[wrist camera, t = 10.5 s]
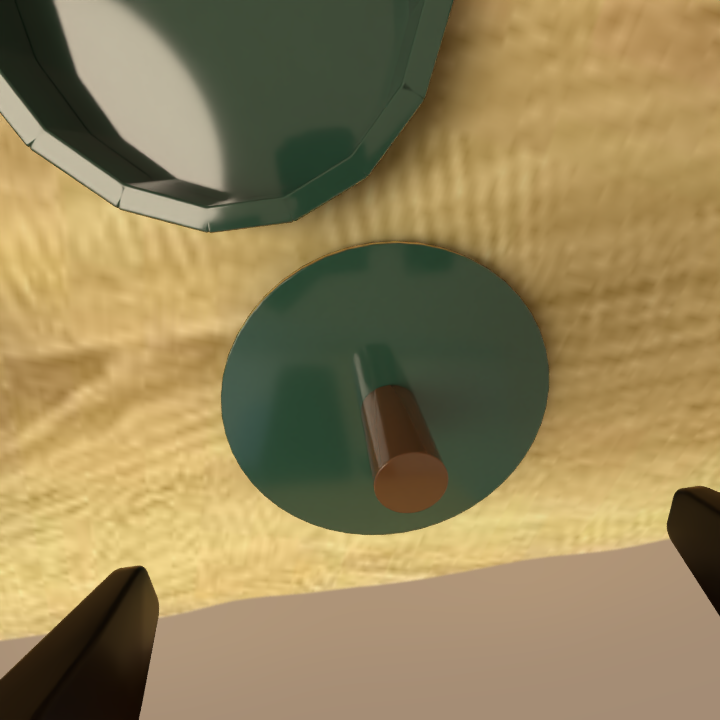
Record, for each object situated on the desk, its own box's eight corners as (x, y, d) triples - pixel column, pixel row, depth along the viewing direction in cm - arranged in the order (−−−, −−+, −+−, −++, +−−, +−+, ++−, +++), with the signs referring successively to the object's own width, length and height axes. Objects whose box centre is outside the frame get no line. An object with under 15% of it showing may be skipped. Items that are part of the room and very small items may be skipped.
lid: (547, 216, 18) (649, 239, 13) (531, 496, 24) (596, 596, 18) (186, 264, 18) (126, 310, 12) (262, 538, 24) (245, 655, 18)
